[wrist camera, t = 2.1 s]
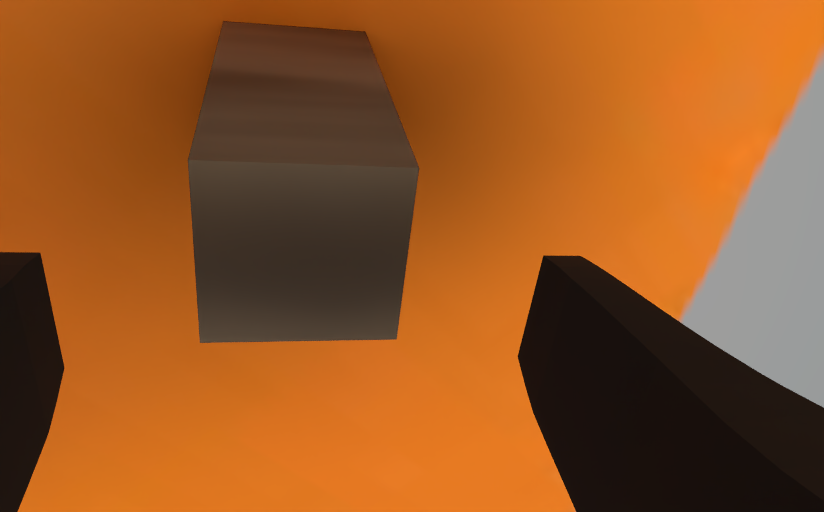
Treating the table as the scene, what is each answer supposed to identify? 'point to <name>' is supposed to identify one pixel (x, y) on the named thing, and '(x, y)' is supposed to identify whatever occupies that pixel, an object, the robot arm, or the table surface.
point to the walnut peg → (299, 189)
